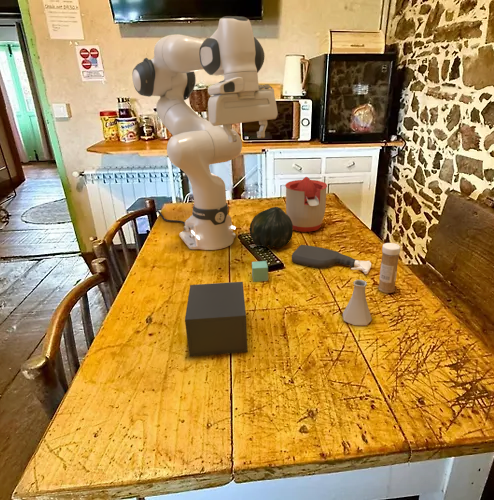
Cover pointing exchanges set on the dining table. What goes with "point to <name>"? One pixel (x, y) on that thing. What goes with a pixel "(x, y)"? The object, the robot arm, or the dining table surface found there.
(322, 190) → the citrus juicer
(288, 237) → the squash
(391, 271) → the sprinkles bottle
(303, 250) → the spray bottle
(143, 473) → the dining table surface
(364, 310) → the flask
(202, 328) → the dark grey box
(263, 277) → the block
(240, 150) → the robot arm
